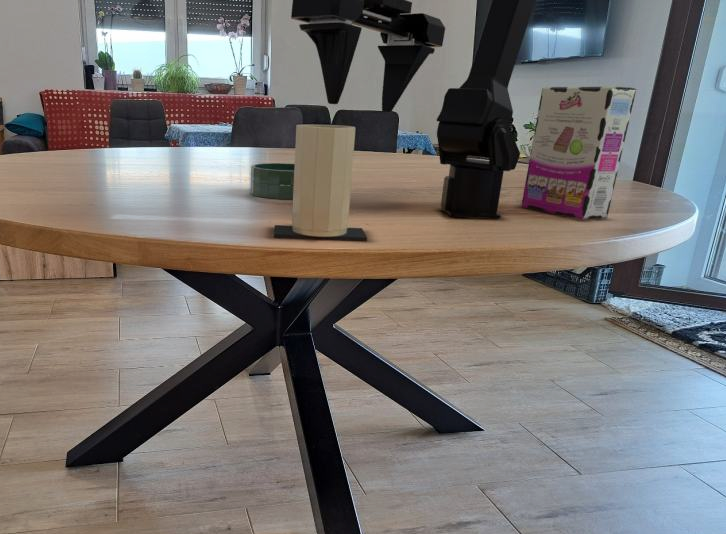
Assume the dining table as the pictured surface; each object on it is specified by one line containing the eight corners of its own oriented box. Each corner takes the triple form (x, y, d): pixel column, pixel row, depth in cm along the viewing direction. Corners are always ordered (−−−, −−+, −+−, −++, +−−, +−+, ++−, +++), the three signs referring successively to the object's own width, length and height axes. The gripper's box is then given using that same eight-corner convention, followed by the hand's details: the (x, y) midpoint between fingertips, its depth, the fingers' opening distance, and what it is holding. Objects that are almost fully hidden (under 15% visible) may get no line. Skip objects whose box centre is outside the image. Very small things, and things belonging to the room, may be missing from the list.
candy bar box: (609, 219, 85) (639, 87, 79) (583, 221, 83) (612, 86, 77) (544, 205, 95) (566, 86, 89) (519, 207, 93) (540, 85, 87)
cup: (310, 223, 74) (315, 123, 70) (356, 230, 71) (365, 127, 67) (281, 231, 70) (285, 125, 66) (329, 239, 66) (337, 128, 62)
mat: (361, 231, 73) (362, 228, 73) (366, 241, 68) (367, 237, 68) (274, 228, 73) (274, 224, 73) (273, 237, 68) (273, 234, 68)
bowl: (316, 194, 98) (318, 164, 97) (319, 205, 89) (321, 172, 87) (252, 192, 98) (252, 162, 97) (248, 202, 89) (249, 169, 88)
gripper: (376, -29, 75) (357, 111, 80) (260, -74, 62) (246, 96, 68) (459, -38, 68) (432, 117, 73) (347, -92, 55) (324, 100, 60)
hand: (360, 108), depth 68 cm, fingers open, 9 cm apart
